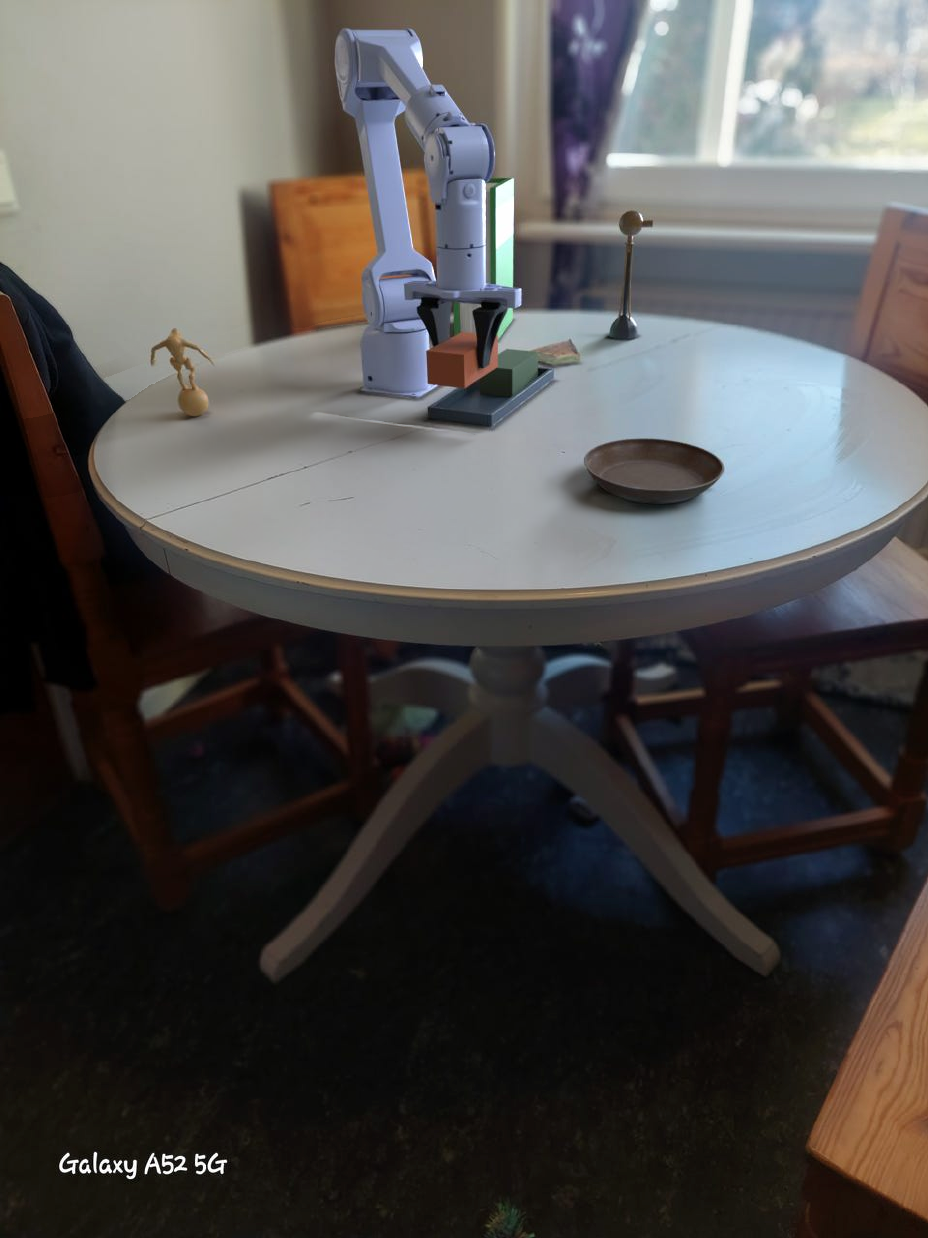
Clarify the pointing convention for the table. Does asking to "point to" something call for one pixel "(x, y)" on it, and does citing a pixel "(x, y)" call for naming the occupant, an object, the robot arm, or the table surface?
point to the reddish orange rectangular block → (458, 361)
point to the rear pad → (510, 373)
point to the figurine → (192, 396)
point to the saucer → (653, 469)
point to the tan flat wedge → (558, 353)
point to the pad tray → (484, 402)
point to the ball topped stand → (628, 276)
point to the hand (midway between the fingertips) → (463, 363)
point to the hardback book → (493, 250)
